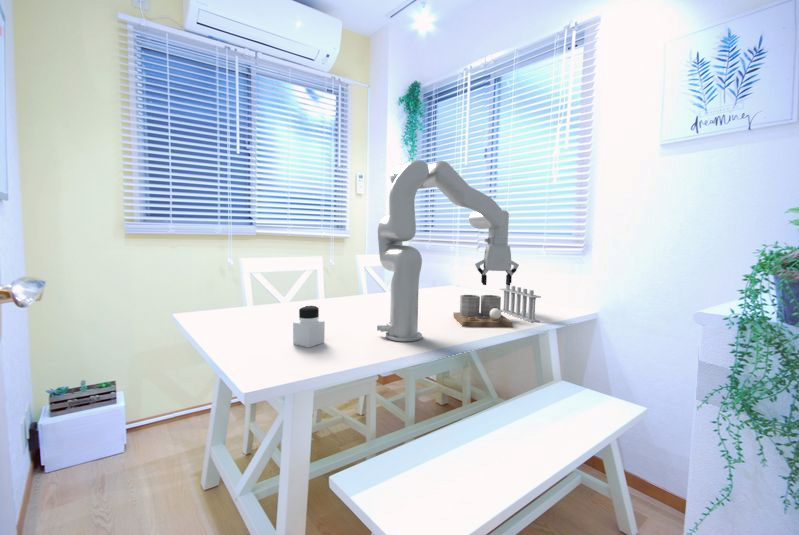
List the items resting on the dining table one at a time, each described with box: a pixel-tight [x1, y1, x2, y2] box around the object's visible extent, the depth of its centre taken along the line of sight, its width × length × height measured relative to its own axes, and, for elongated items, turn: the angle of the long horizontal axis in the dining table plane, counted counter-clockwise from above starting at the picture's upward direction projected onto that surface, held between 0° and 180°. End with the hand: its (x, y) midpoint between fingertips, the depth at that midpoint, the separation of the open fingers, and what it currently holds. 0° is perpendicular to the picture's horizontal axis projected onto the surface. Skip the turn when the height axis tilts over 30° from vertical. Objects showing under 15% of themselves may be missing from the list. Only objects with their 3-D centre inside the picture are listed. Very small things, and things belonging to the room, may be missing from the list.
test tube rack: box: [499, 284, 542, 324], centre depth 168 cm, size 25×4×13 cm, turn 17°
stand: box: [452, 294, 514, 328], centre depth 156 cm, size 20×18×10 cm
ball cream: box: [490, 308, 502, 319], centre depth 151 cm, size 4×4×4 cm
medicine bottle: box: [292, 305, 326, 348], centre depth 120 cm, size 7×7×12 cm
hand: (496, 284), depth 150 cm, fingers open, 9 cm apart
